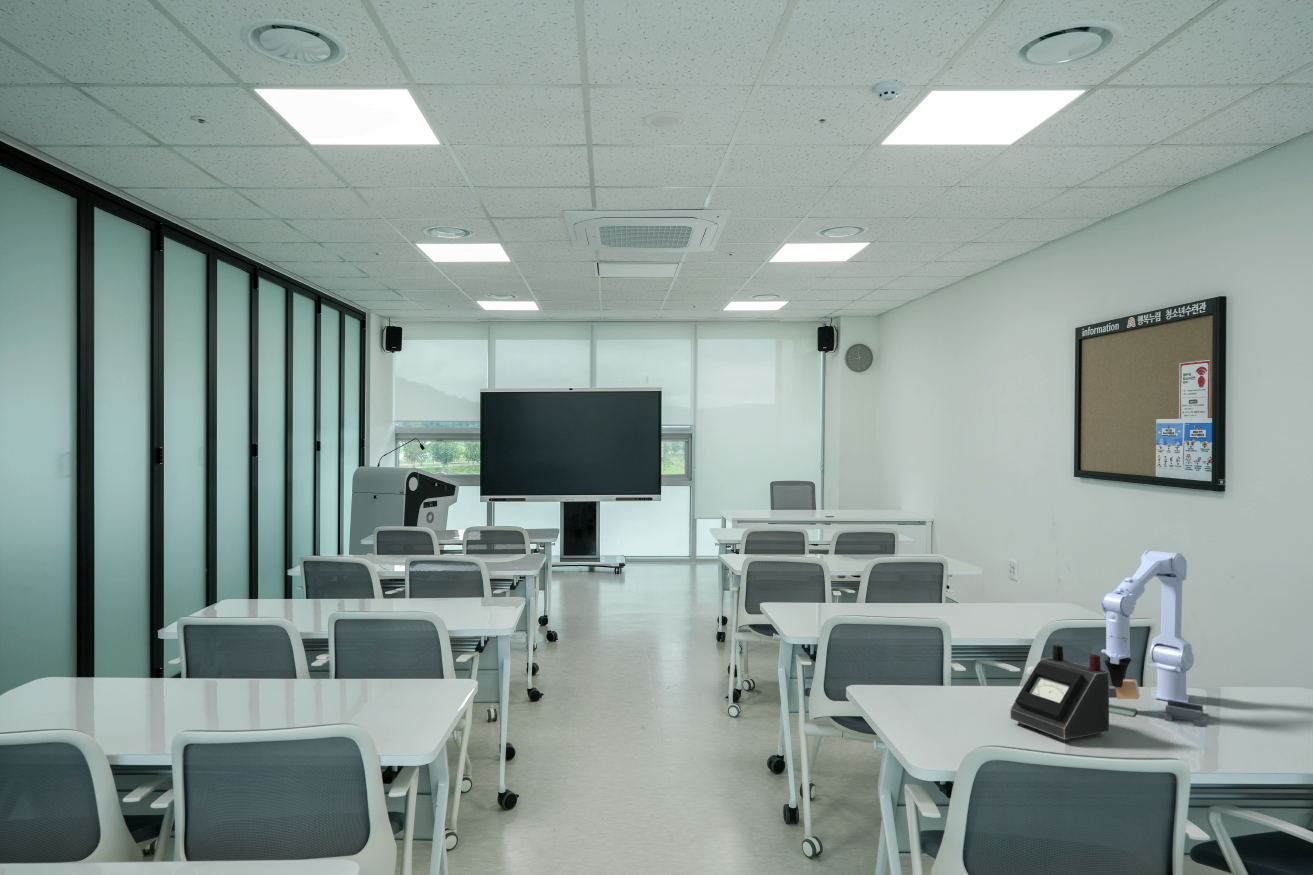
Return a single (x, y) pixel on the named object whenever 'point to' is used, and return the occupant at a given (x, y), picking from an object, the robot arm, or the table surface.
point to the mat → (1122, 710)
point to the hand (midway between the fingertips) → (1118, 684)
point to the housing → (1184, 712)
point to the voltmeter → (1064, 698)
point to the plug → (1125, 690)
